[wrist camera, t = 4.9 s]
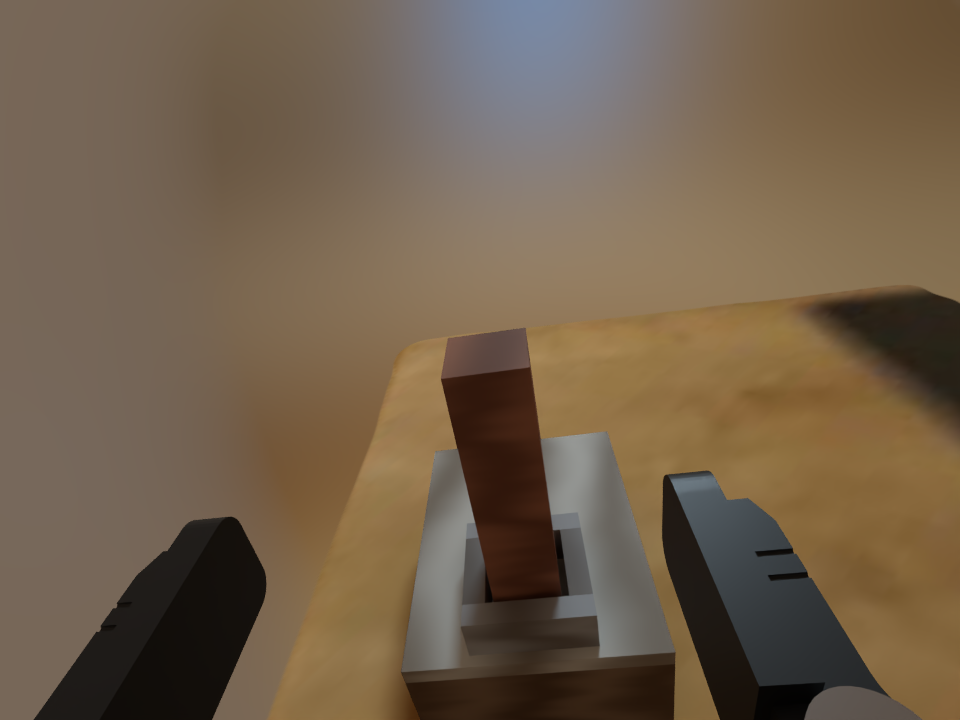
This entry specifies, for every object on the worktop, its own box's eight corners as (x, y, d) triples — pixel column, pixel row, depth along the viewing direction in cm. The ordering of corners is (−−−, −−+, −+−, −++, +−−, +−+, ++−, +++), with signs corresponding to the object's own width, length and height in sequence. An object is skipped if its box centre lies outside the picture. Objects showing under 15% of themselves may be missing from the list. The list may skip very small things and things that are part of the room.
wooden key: (557, 564, 31) (525, 327, 24) (565, 619, 28) (530, 367, 21) (498, 570, 32) (448, 338, 24) (499, 625, 29) (441, 378, 21)
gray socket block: (611, 496, 45) (605, 405, 40) (673, 726, 29) (676, 620, 25) (451, 512, 46) (428, 427, 42) (429, 740, 31) (389, 643, 26)
